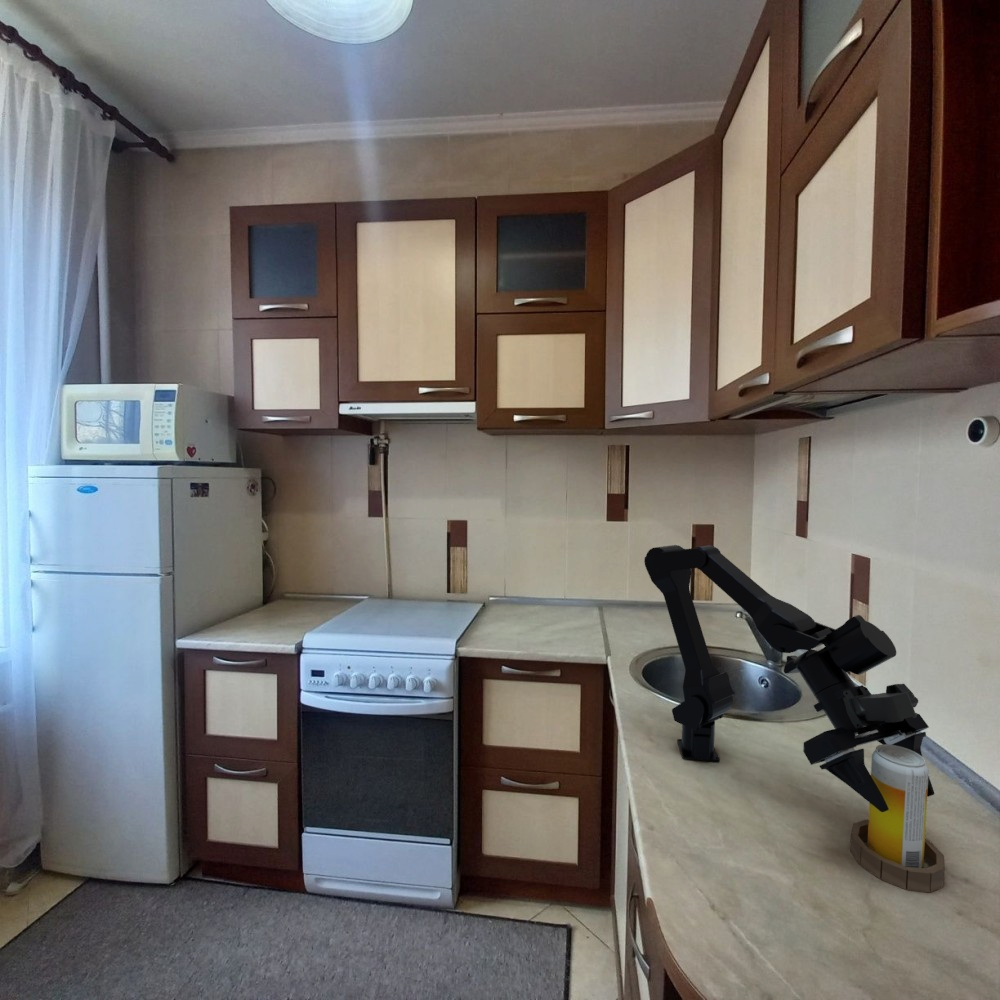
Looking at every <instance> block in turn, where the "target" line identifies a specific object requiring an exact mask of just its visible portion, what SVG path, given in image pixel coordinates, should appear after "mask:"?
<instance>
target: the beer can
mask: <svg viewBox="0 0 1000 1000" xmlns="http://www.w3.org/2000/svg"><path fill="white" fill-rule="evenodd" d="M870 763H871V766H870V775H871V777H872V779H873V780H874V782H875V784H876V785H877V787H878V789H879V791H880V792H881V794H882V796H883V798H884V800H885V802H886V804H887V806H888V808H889V810H888V811H885V812H881V811H879V810H878V809H877V808H876V807H874V806H873V805H872V804H871V803H869V802H868V804H869V806H868V807H869V808H868V820H869V824H868V841H867V845H866V847H868V848H869V849H871V850H872V851H874V852H875V853H877V854H878V855H880V856H881V857H883V858H884V859H887V860H890V861H892V862H895V863H898V864H900V865H903V866H906V867H914V868H924V864H925V863H924V861H925V860H924V846H925V839H926V824H927V823H926V822H927V810H928V808H927V807H928V806H927V805H928V797H927V792H928V775H929V774H930V773H929V772H930V771H929V768H928V766H927V763H926V760H925V758H924V756H923V755H922V756H921V755H919V754H918V753H916V752H914V751H912V750H909V749H907V748H904V747H900V746H896V745H889V744H879V745H877V746H876V747H875V750H874V751H873V752H872V753H871V762H870Z"/></svg>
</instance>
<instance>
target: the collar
mask: <svg viewBox="0 0 1000 1000" xmlns="http://www.w3.org/2000/svg"><path fill="white" fill-rule="evenodd" d="M868 824H869V819H863V820H860V821H857V822H854V823H853V824H852V828H851V831H850V848H849V849H850V853H851V855H852V856H853V857H854V859H855V860H856V862H857V863H858V864H859V865H860V867H862V868H864V869H865V870H867V872H869V873H870V874H872V876H873V875H874V876H875V877H876V878H878V879H879V880H881V881H883V882H886V883H888V884H890V885H893V886H896V887H899V888H901V889H903V890H905V891H911V892H912V891H913V892H920V893H921V892H922V893H933V892H935V891H937V890H939V889H942V888H944V887H945V869H946V868H945V867H946V863H945V855H944V854H943V852H941V851H940V849H938V847H936V846H935V844H934V843H933V842H932V841H931V840H928V838H925V846H924V861H925V862H926V864H928V867H926V868H924V867H923V868H914V867H906V866H903V865H900V864H898V863H895V862H892V861H890V860H887V859H884V858H883V857H881V856H880V855H878V854H877V853H875V852H874V851H872V850H871V849H869V848H868V847H867V845H866V843H865V842H868Z"/></svg>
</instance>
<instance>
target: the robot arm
mask: <svg viewBox="0 0 1000 1000" xmlns="http://www.w3.org/2000/svg"><path fill="white" fill-rule="evenodd" d="M643 562H644V566H645V569H646V571H647V574H648V575H649V578H650V581H651V582H652V583H653V584H654V586H655V587H656V588H657V589H658V590H659V592H661V593H662V595H663V599H664V602H665V605H666V608H667V609H666V610H667V611H668V615H669V619H670V622H671V625H672V629H673V632H674V635H675V640H676V642H677V646H678V649H679V652H680V657H681V659H682V662H683V666H684V675H683V681H682V694H683V701H682V702H680V703H679V704H677V705H676V706H675V707H673V708H672V709H671V712H672V713H671V714H672V717H673V720H674V721H675V722H676V723H678V724H680V725H681V738H677V739H676V743H677V747H678V749H679V752H680V754H681V757H682V758H683V759H685V760H693V761H694V760H695V761H705V762H706V761H707V762H716V763H718V762H720V760H721V759H720V756H719V754H718V752H717V749H716V748H715V735H716V732H715V730H716V726H715V725H716V722H715V721H717V720H719V719H720V720H721V719H723V717H724V715H725V713H727V712H728V711H730V710H731V708H732V706H733V704H734V698H733V696H734V695H735V693H736V692H735V691H734V690H733V688H732V685H731V682H730V676H729V674H728V672H726V671H724V672H720V671H719V670H718V669H717V668H716V667H715V666H714V664H713V662H712V659H711V655H710V654H709V653H710V652H709V650H708V646H707V643H706V639H705V636H704V633H703V631H702V626H701V623H700V621H699V617H698V614H697V611H696V608H695V605H694V601H693V597H692V594H691V591H690V584H691V577H692V572H693V571H692V569H693V570H694V569H698V570H700V572H701V573H702V574H704V575H705V576H706V577H707V578H709V580H710V581H712V582H713V583H714V584H715V585H716V586H717V587H718V588H720V590H721V591H723V592H724V593H725V594H726V595H727V596H729V598H730V599H731V600H732V601H734V602H735V603H736V604H737V605H738V606H739V607H741V609H743V610H744V611H745V612H746V613H747V614H748V616H749V617H750V618H751V620H752V622H753V623H754V626H755V629H756V630H757V632H758V633H759V634H760V636H761V637H762V638H763V639H764V640H765V642H766V643H767V644H768V645H769V646H770V647H771V648H772V649H773V650H774V651H776V652H778V653H780V654H781V653H782V654H791V653H795V652H797V651H799V650H804V651H805V652H803V653H801V654H800V655H787V656H786V662H785V664H784V666H783V667H784V668H783V673H784V674H787V675H788V674H797V673H798V674H800V675H801V677H802V679H803V680H804V682H805V683H806V685H807V687H808V688H809V690H810V691H811V693H812V695H813V696H814V698H815V699H816V702H817V703H815V704H813V707H814V709H815V711H816V712H817V713H819V712H824V714H825V715H826V717H827V718H828V720H829V721H830V723H831V725H832V726H833V729H829V730H825V731H823V732H821V733H819V734H817V735H816V736H813V737H811V738H810V739H809V738H808V740H805V741H804V742H803V745H802V746H803V748H802V749H803V750H802V751H803V754H804V755H805V757H806V758H807V760H808V762H809V763H810V766H812V765H815V764H820V763H822V764H820V765H819V768H820V769H821V771H822V770H826V771H828V772H829V773H830V774H832V775H833V776H834V777H836V778H837V779H838V780H840V781H842V782H843V783H844V784H845V785H847V786H849V788H851V789H852V790H853V791H855V792H856V793H857V794H858V795H860V796H861V797H862V798H863V799H864V800H865V801H866V802H868V804H869V803H871V804H872V805H873V806H874V807H876V808H877V809H878V810H879V811H881V812H885V811H888V810H889V808H888V806H887V804H886V802H885V800H884V798H883V796H882V794H881V792H880V791H879V789H878V787H877V785H876V784H875V782H874V780H873V779H872V777H871V772H869V770H868V768H867V766H866V764H865V749H864V748H860V749H859V748H858V749H857V750H856V749H855V748H857V747H859V746H863V745H867V744H870V743H873V742H878V743H879V744H880V745H883V744H889V745H896V746H900V747H904V748H907V749H909V750H912V751H914V752H916V753H918V754H919V755H921V756H922V757H923V754H922V744H923V743H922V742H923V739H924V738H925V737H926V736H927V731H925V730H927V729H930V727H929V725H928V724H927V723H926V721H925V720H924V718H923V717H922V715H920V713H917V712H916V710H915V708H916V707H917V705H918V703H919V698H917V697H916V696H915V695H914V693H913V692H912V690H910V688H909V687H908V686H907V685H906V684H905V683H896V684H890V685H886V688H885V692H881V693H873V694H872V693H871V692H870V690H869V689H868V687H866V686H864V685H863V684H862V685H858V686H857V685H856V684H855V683H854V682H853V680H852V678H851V677H850V676H849V674H848V673H849V672H850V673H852V674H854V675H857V676H860V675H863V674H865V673H866V672H868V671H870V670H872V669H874V668H876V667H877V666H879V665H882V664H883V663H885V662H887V661H889V660H890V659H893V658H894V657H896V655H897V650H896V646H895V644H894V642H893V641H892V639H891V638H890V637H889V635H888V634H887V633H886V632H885V631H884V630H881V629H880V628H879V627H878V626H876V625H874V624H873V623H871V622H870V621H867V620H866V619H864V617H863V616H862V615H860V614H857V615H854V616H852V617H850V618H849V619H848V620H846V621H845V622H844V623H843V624H842V625H840V626H839V627H837V628H834V627H831V626H827V625H826V624H822V623H819V622H817V621H815V620H814V619H813V618H812V616H811V615H809V614H808V613H806V612H804V611H803V610H801V609H799V608H798V607H796V606H795V605H794V604H793V605H792V604H791V603H790V602H786V601H784V600H781V599H778V598H776V597H775V596H773V595H771V594H770V593H769V592H767V591H766V590H765V589H764V588H762V586H760V585H759V584H758V583H757V582H755V581H754V580H753V578H751V577H750V576H749V575H747V574H746V573H745V572H744V571H742V569H740V568H739V567H738V566H736V565H735V564H734V563H733V562H732V561H730V559H728V558H727V557H726V556H725V555H724V554H722V553H721V551H720V549H718V548H717V547H716V546H713V545H702V546H696V547H693V548H683V546H681V545H676V544H674V545H673V544H672V545H664V546H657V547H652V548H650V549H649V550H648V551H647V553H646V555H645V556H644V561H643ZM822 645H823V646H824V647H823V648H821V649H819V650H817V649H816V648H818V647H820V646H822ZM824 762H825V763H824ZM934 795H935V790H934V788H933V784H932V781H931V779H930V776H929V774H928V792H927V798H928V797H932V796H934Z"/></svg>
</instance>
